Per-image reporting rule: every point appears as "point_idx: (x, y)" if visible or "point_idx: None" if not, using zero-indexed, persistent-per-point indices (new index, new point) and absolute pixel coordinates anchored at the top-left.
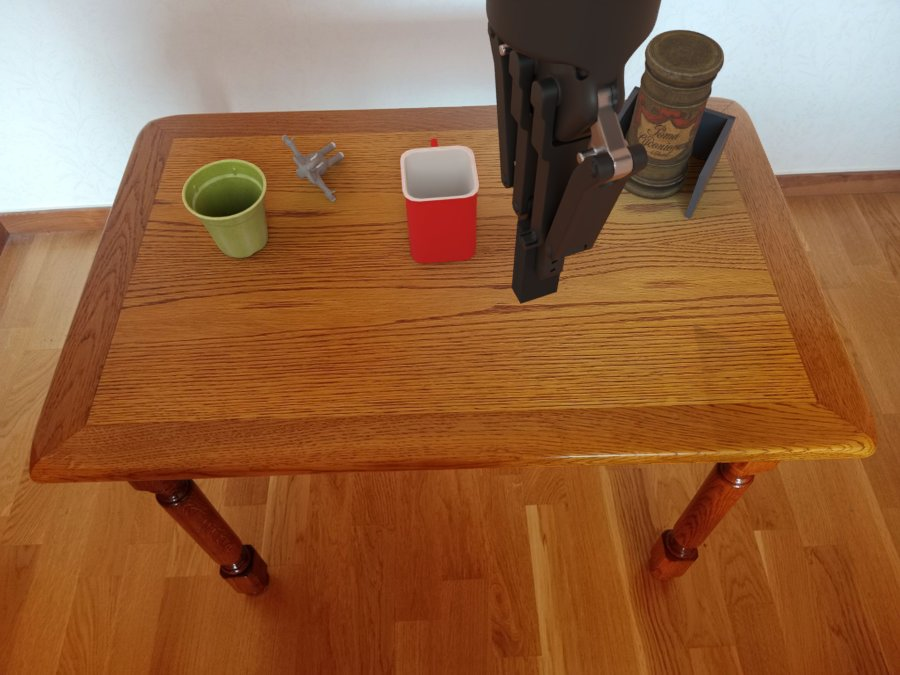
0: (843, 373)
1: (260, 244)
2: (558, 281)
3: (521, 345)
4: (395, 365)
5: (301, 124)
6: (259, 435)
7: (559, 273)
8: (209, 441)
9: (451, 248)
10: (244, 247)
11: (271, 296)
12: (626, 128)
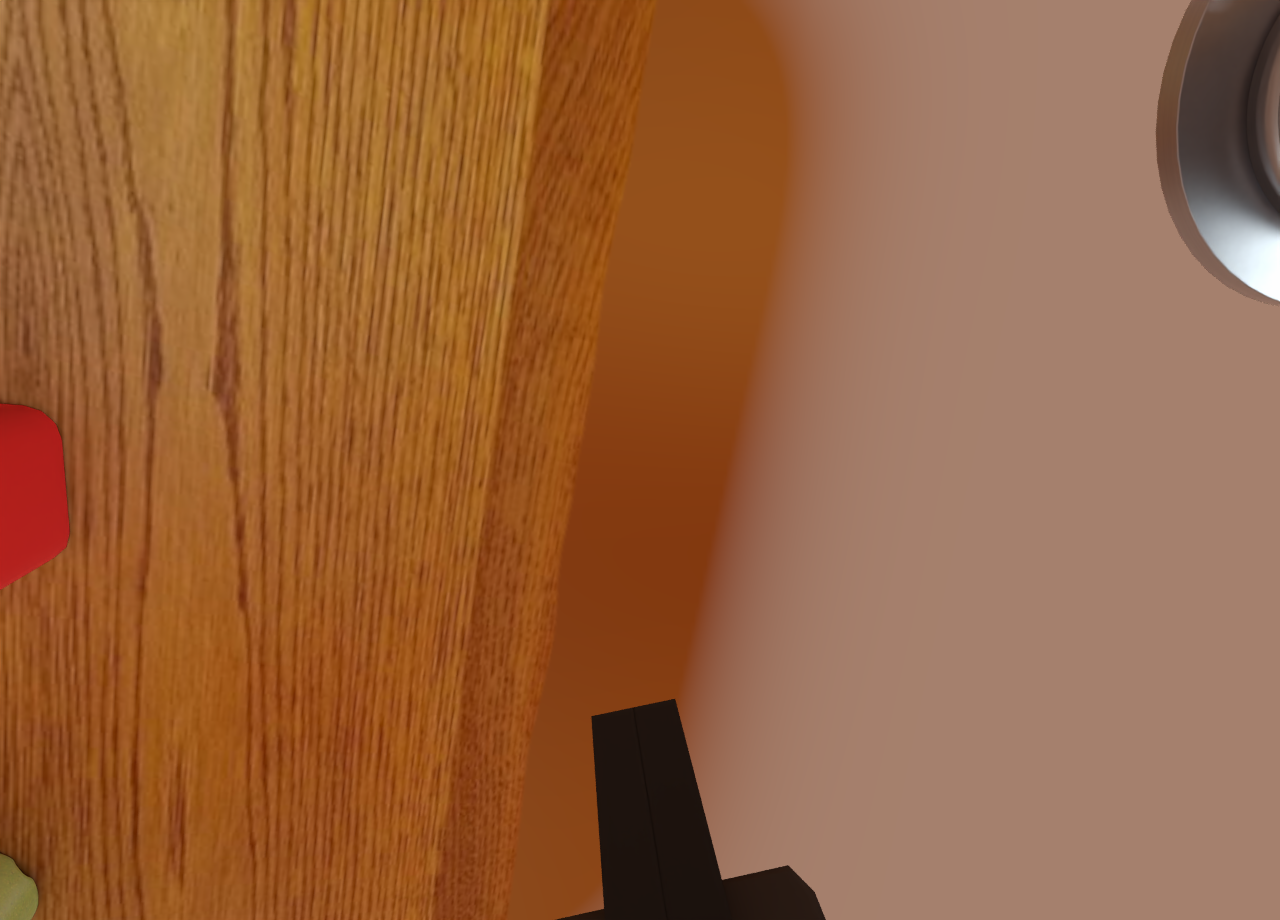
0: None
1: (2, 872)
2: (683, 738)
3: (335, 360)
4: (356, 620)
5: None
6: (474, 844)
7: (787, 868)
8: (473, 914)
9: (32, 483)
10: (16, 910)
11: (152, 835)
12: None
